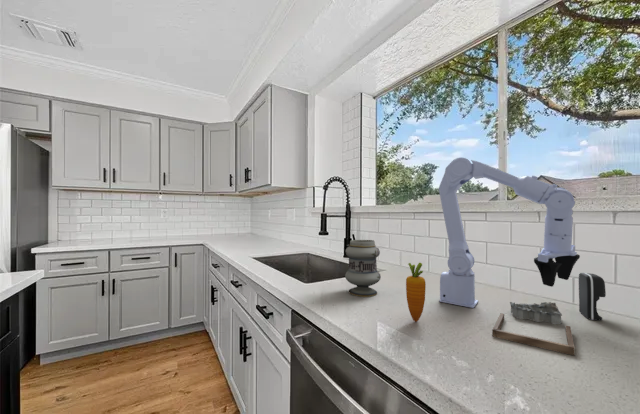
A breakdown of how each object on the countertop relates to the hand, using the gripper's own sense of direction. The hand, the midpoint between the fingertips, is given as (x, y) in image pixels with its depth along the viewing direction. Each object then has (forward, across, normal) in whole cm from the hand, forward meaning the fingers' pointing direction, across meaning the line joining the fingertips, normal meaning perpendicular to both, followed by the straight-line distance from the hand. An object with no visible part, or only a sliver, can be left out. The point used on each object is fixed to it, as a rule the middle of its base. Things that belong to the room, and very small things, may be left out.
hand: (555, 281), depth 78 cm
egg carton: (+8, -9, 0) cm, 12 cm away
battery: (+9, +5, -6) cm, 12 cm away
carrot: (+5, -40, +11) cm, 42 cm away
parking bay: (+5, -22, -6) cm, 23 cm away
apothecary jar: (+8, -37, +39) cm, 55 cm away
